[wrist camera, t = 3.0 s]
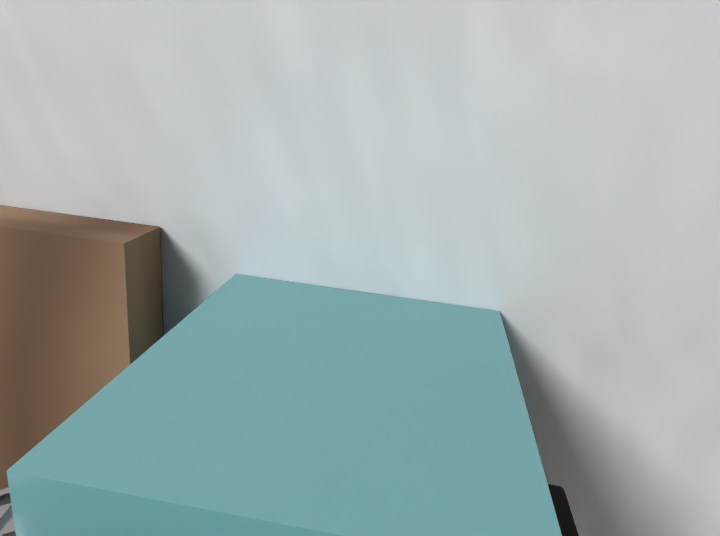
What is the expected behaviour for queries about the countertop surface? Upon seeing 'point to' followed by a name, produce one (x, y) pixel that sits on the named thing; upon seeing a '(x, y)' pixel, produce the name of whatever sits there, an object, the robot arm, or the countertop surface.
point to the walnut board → (69, 316)
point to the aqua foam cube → (299, 427)
